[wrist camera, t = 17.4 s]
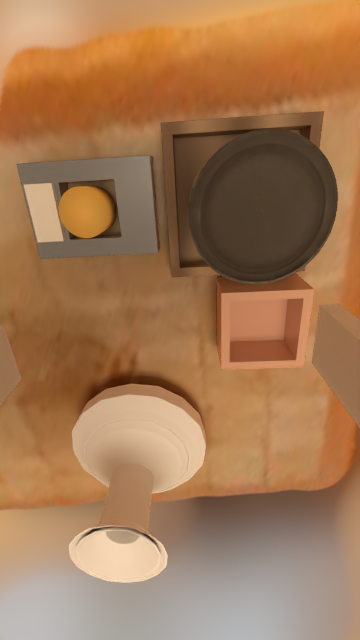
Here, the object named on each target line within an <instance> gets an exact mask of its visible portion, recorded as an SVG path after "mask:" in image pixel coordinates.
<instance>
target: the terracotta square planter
mask: <svg viewBox="0 0 360 640" xmlns="http://www.w3.org/2000/svg"><path fill="white" fill-rule="evenodd" d="M313 294H314V289H313V288H312V287H311V286H310V285H309V284H308V283H306V282H305V281H304V280H303V279H302V278H301V277H299V276H298V275H297V274H292V275H290V276H288V277H286V278H284V279H281V280H279V281H276V282H271V283H266V284H244V283H239V282H235V281H232V280H229V279H227V278H225V277H217V348H218V353H219V359H220V365H221V370H224V369H256V368H288V367H304V360H305V353H306V345H307V338H308V331H309V323H310V316H311V309H312V301H313Z"/></svg>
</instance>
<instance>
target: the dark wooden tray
mask: <svg viewBox="0 0 360 640" xmlns="http://www.w3.org/2000/svg"><path fill="white" fill-rule="evenodd" d="M323 114H324V111H322V112H308V113H293V114H279V115H265V116H250V117H236V118H222V119H208V120H193V121H179V122H165V123H161V130H162V145H163V159H164V174H165V188H166V203H167V217H168V232H169V246H170V261H171V275H172V277H183V276H205V275H220V274H218V273H217V272H215V271H214V270H213V269H212V268H211V267H210V266H208V265H207V263H206V262H205V261H204V260H203V259H202V257H201V256H200V254H199V253H198V251H197V249H196V247H195V245H194V242H193V240H192V236H191V232H190V228H189V199H190V192H191V188H192V185H193V182H194V180H195V177H196V176H197V174H198V172H199V171H200V169H201V168H202V167H203V166H204V165H205V164H206V163H207V162H208V160H209V159H210V158H211V157H212V156H213V155H214V154H215V153H216V152H217V151H218V150H219V149H220V148H221V147H223V146H224V145H225V144H227V143H228V142H229V141H231V140H233V139H234V138H236V137H238V136H240V135H243V134H245V133H248V132H251V131H255V130H260V129H282V130H288V131H291V132H295V133H297V134H299V135H302V136H304V137H305V138H307V139H308V140H310V141H311V142H312V143H313V144H315V145H316V146H317V147H318V148H319V147H320V139H321V131H322V122H323ZM299 271H305V266H304V267H303V268H302V269H300V270H299Z"/></svg>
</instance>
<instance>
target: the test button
mask: <svg viewBox="0 0 360 640" xmlns="http://www.w3.org/2000/svg"><path fill="white" fill-rule="evenodd" d="M59 216H60V219H61V221H62V223H63V225H64V226H65V228H66V229H67V230H68V231H69V232H71V233H72V234H74V235H75V236H78V237H81V238H92V237H95V236H97V235H99V234H100V233H102V232H104V231H105V230H107V229H108V228H110V227H111V226H112V224H113V223H114V221H115V218H116V206H115V203H114V201H113V199H112V197H111V196H110V194H109V193H108V192H106V191H105V190H104V189H102V188H100V187H97V186H78V187H73V188H71V189H69V190H67V191H66V192H65V193H64V194H63V195H62V197H61V199H60V202H59Z"/></svg>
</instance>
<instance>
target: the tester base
mask: <svg viewBox="0 0 360 640" xmlns="http://www.w3.org/2000/svg"><path fill="white" fill-rule="evenodd" d="M17 168H18V172H19V176H20V180H21V184H22V188H23V192H24V196H25V200H26V204H27V208H28V212H29V216H30V220H31V224H32V228H33V232H34V236H35V240H36V244H37V248H38V252H39V256H40V259H49V258H69V257H89V256H109V255H129V254H149V253H158V252H159V249H160V245H159V232H158V220H157V208H156V196H155V184H154V172H153V159H152V157H151V156H150V155H146V156H130V157H115V158H100V159H84V160H69V161H53V162H38V163H23V164H17ZM100 180H114V184H115V192H116V199H117V207H118V214H119V222H120V229H121V234H112V235H97V236H95V237H92V238H81V237H78V236H75V235H74V234H72V233H71V232H69V231H68V230H67V229H66V228H65V226H64V225H63V223H62V221H61V219H60V216H59V202H60V199H61V197H62V195H63V194H64V193H65V192H66V191H67V190H68V186H67V182H84V181H100Z"/></svg>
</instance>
